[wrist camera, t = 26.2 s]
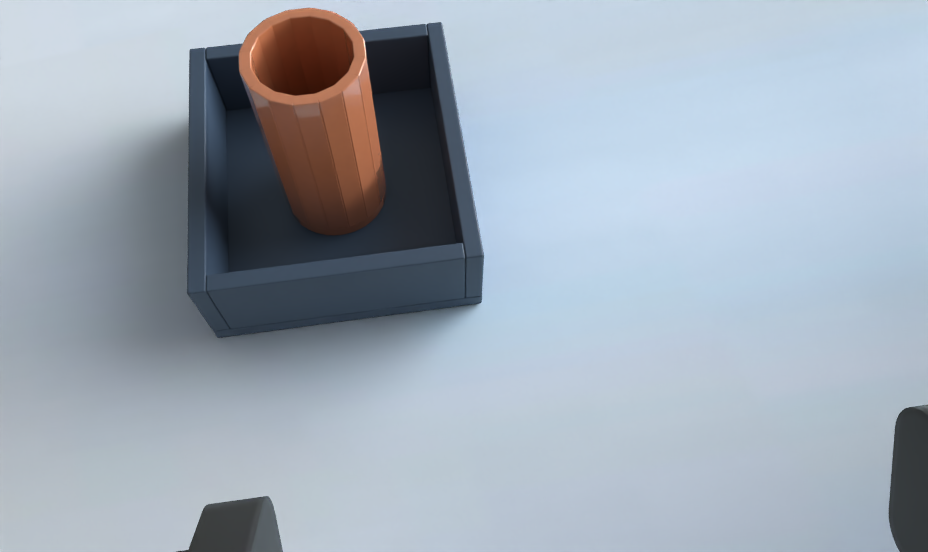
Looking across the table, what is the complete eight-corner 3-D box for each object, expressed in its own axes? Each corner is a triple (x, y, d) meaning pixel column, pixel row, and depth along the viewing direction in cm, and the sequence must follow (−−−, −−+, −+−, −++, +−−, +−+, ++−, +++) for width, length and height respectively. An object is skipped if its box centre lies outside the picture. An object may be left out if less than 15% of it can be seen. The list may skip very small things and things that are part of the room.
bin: (443, 84, 45) (441, 21, 41) (481, 303, 39) (484, 255, 35) (215, 110, 44) (189, 48, 40) (217, 338, 38) (186, 294, 34)
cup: (381, 147, 42) (360, 1, 33) (391, 229, 40) (371, 96, 31) (285, 158, 42) (237, 14, 33) (289, 241, 40) (239, 111, 31)
